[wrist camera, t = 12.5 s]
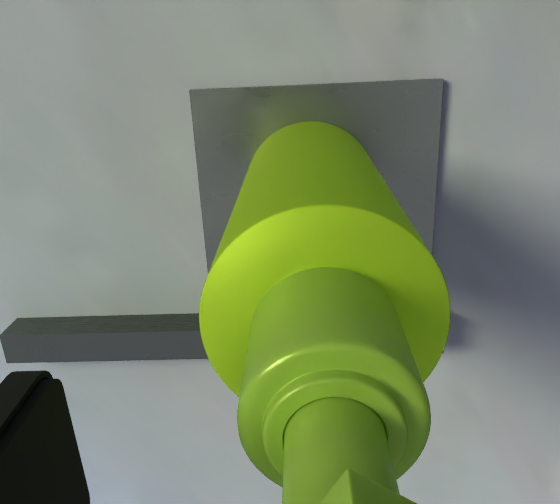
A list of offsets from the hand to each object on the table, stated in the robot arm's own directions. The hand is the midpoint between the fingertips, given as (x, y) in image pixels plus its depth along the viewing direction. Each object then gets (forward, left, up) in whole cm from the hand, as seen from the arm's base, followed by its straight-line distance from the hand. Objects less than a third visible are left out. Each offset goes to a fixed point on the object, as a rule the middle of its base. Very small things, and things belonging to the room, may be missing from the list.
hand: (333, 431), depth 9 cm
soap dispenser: (0, 0, -17) cm, 17 cm away
